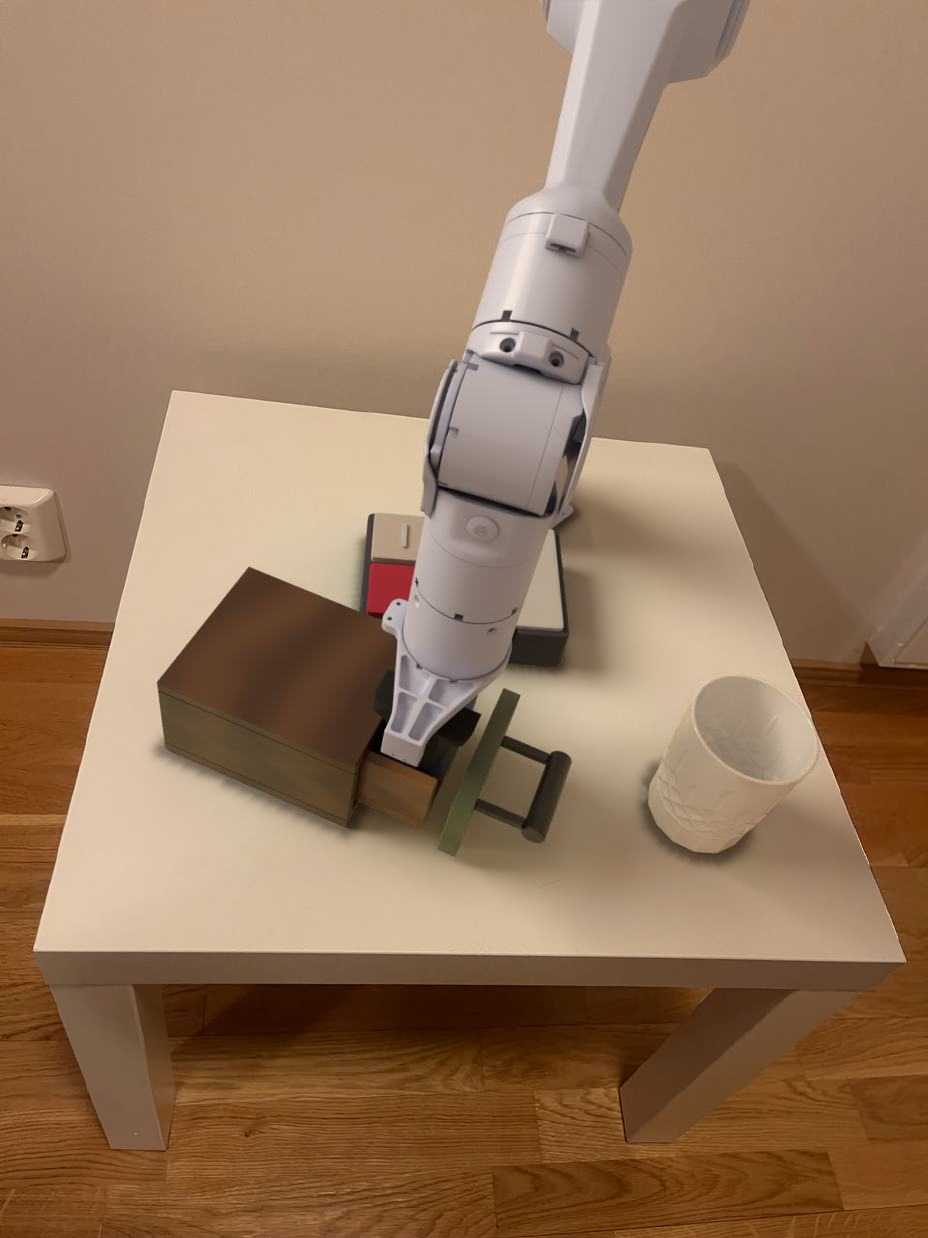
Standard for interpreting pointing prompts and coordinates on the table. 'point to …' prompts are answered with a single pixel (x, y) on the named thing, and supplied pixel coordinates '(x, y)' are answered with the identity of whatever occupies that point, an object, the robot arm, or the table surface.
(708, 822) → the white cup
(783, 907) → the table surface
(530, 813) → the drawer
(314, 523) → the table surface
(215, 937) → the table surface
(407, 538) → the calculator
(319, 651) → the cabinet
